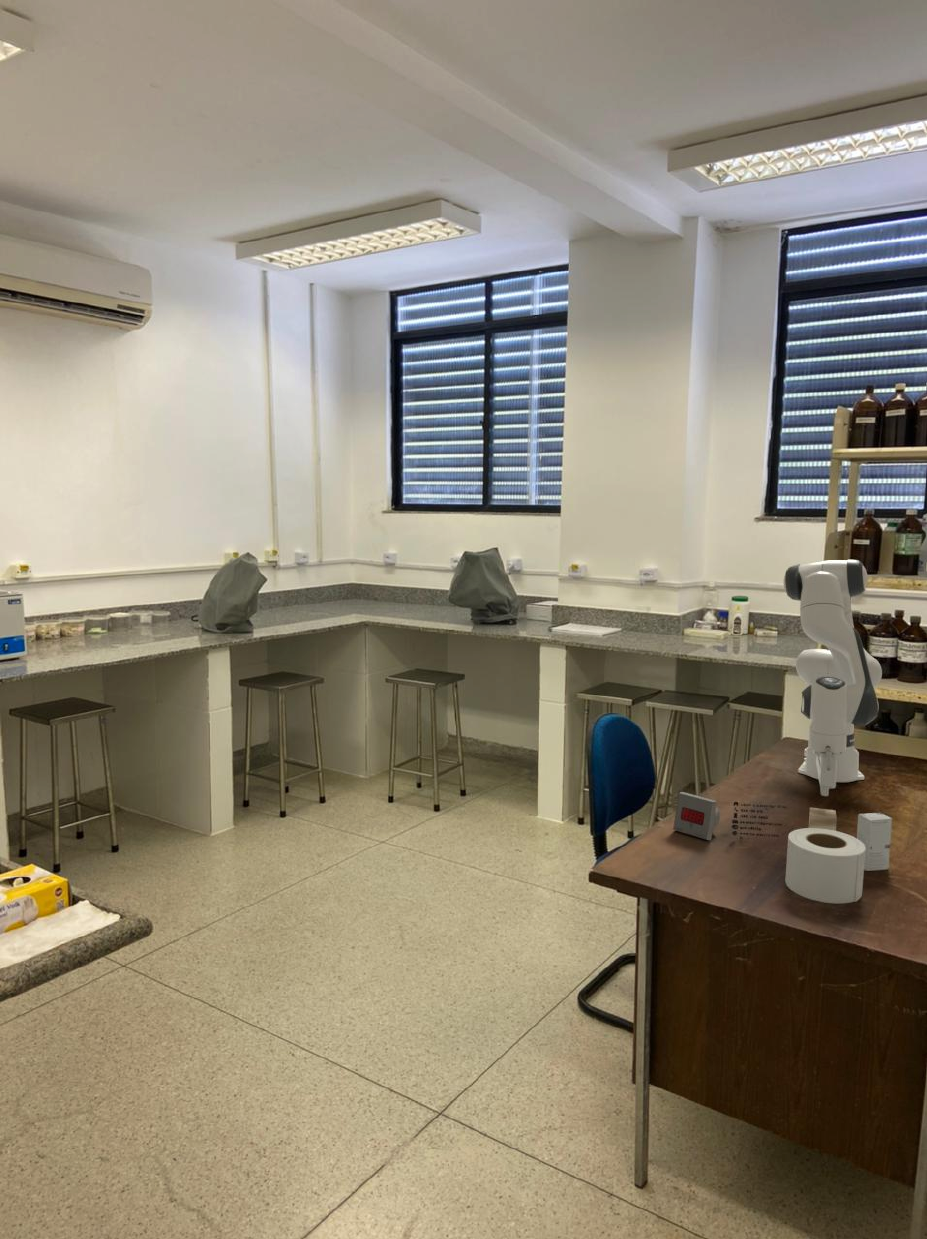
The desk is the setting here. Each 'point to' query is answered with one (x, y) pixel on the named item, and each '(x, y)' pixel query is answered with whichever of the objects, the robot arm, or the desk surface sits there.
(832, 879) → the roll of tape
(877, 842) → the skincare box
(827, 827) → the birch cube
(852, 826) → the desk surface
